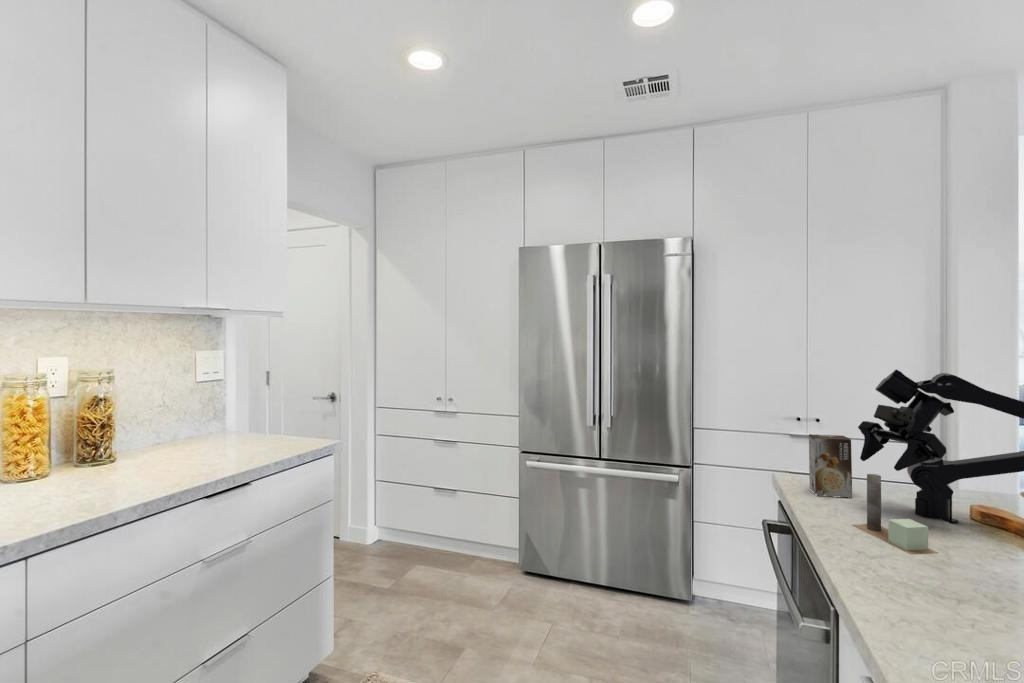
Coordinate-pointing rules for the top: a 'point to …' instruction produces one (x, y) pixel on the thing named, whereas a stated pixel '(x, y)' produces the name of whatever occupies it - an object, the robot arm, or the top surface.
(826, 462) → the coffee box
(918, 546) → the sage cube
